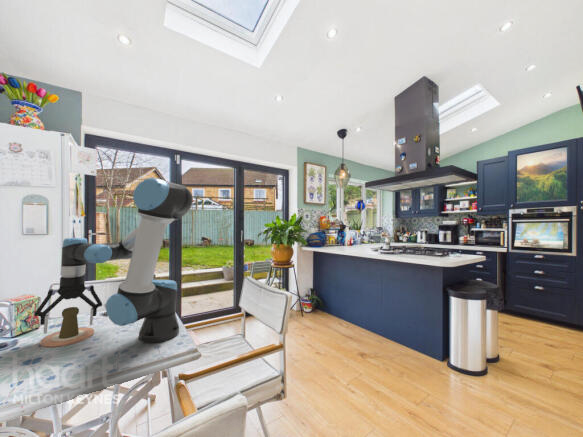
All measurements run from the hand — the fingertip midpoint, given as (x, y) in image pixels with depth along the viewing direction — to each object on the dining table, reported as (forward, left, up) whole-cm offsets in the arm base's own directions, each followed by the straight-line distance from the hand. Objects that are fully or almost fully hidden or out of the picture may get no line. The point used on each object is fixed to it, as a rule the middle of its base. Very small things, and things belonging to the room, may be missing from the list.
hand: (69, 328), depth 97 cm
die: (+23, -17, -4) cm, 29 cm away
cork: (0, 0, -3) cm, 3 cm away
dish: (0, 0, -4) cm, 4 cm away
